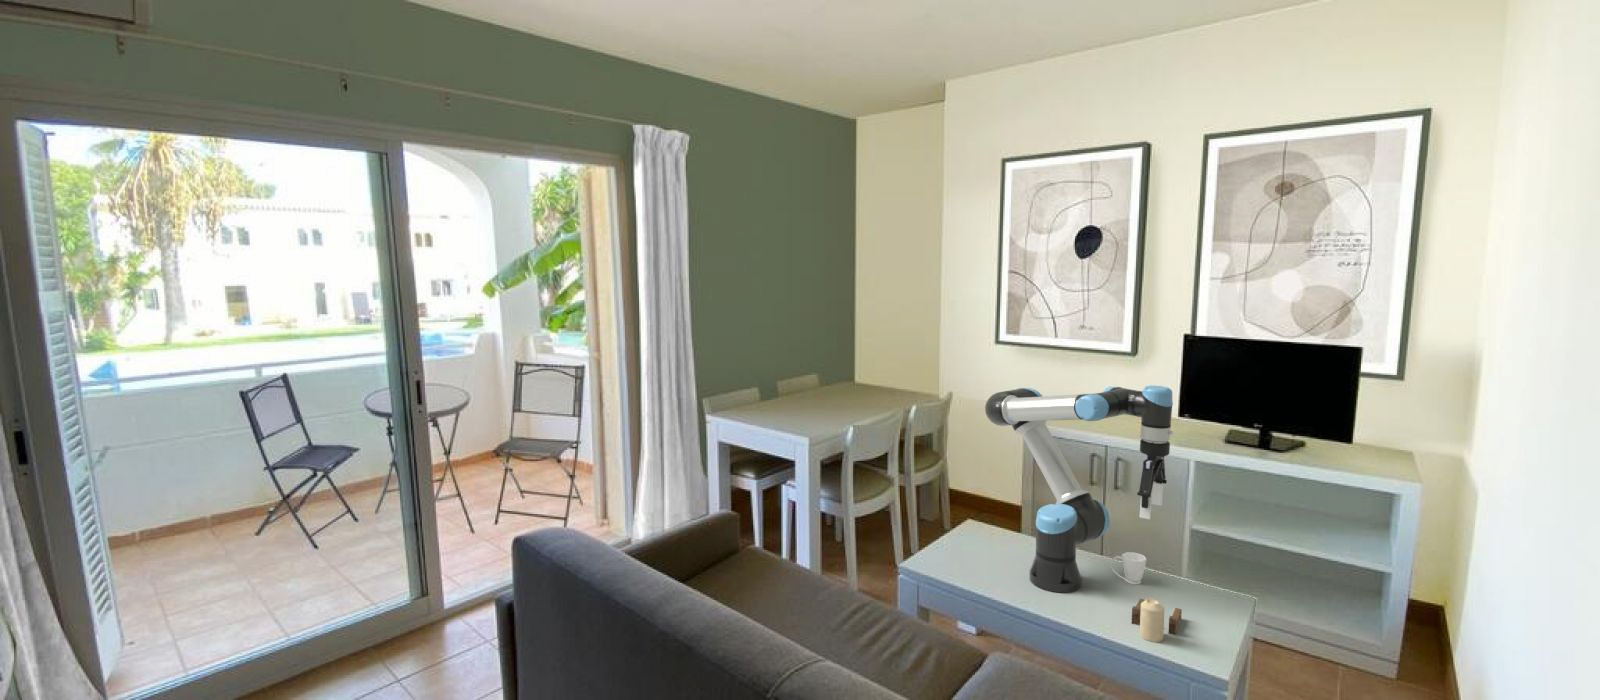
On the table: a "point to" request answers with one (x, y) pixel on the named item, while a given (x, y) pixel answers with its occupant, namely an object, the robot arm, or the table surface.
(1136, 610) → the wooden stepped bars
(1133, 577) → the cup
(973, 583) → the table surface
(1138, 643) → the table surface
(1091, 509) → the robot arm
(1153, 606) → the candle
